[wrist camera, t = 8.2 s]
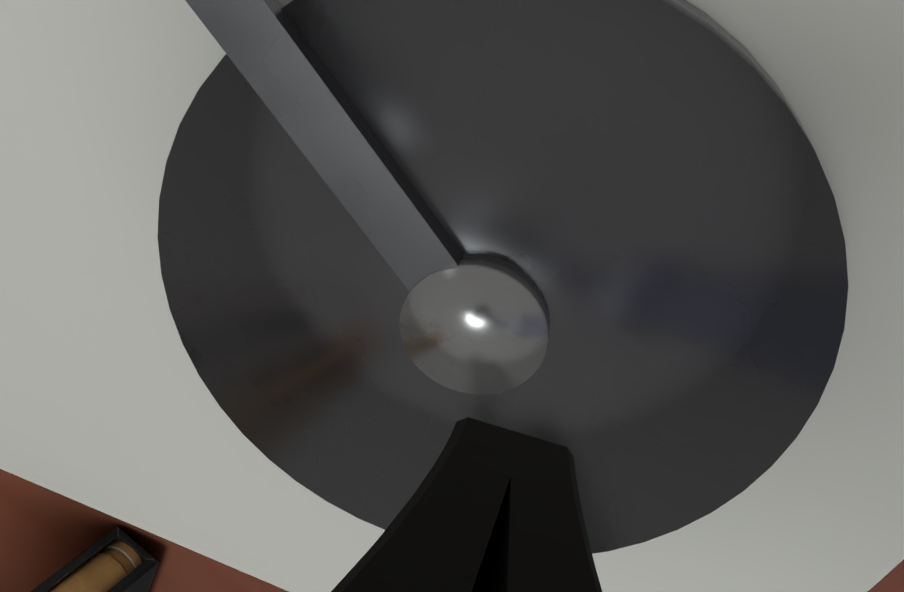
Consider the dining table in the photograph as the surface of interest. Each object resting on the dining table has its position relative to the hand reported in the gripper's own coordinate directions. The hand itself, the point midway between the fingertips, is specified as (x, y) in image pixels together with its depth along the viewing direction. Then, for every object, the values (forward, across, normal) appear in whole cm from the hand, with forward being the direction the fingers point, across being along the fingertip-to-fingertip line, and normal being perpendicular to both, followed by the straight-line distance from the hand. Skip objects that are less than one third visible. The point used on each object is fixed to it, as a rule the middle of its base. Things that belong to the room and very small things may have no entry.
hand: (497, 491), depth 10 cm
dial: (+8, +3, +1) cm, 9 cm away
